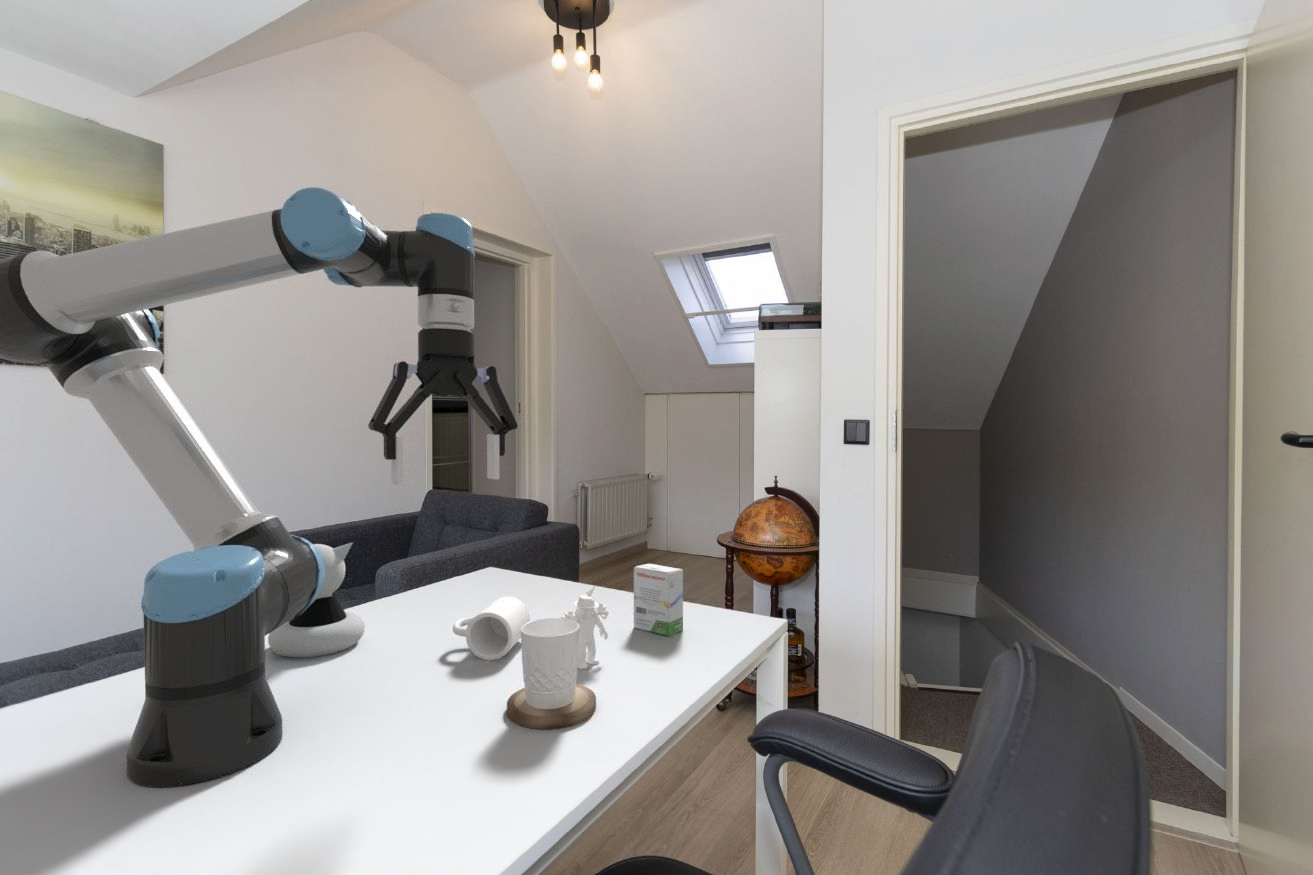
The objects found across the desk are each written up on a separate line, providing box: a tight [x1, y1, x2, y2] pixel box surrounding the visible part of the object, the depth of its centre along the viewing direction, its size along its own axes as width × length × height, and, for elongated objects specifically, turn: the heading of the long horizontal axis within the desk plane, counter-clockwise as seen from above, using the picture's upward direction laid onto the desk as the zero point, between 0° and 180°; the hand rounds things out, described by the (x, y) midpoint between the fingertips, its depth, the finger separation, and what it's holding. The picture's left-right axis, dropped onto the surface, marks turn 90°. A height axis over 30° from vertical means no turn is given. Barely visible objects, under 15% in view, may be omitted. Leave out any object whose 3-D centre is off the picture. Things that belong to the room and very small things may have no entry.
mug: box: [452, 596, 531, 661], centre depth 111 cm, size 12×10×8 cm
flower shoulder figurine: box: [560, 586, 609, 670], centre depth 104 cm, size 9×4×12 cm, turn 137°
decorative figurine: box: [267, 541, 366, 659], centre depth 112 cm, size 15×15×20 cm
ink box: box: [633, 563, 684, 637], centre depth 122 cm, size 8×5×12 cm, turn 53°
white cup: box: [520, 617, 579, 710], centre depth 88 cm, size 8×8×10 cm
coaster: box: [506, 683, 597, 730], centre depth 88 cm, size 12×12×1 cm
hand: (447, 481), depth 91 cm, fingers open, 13 cm apart
